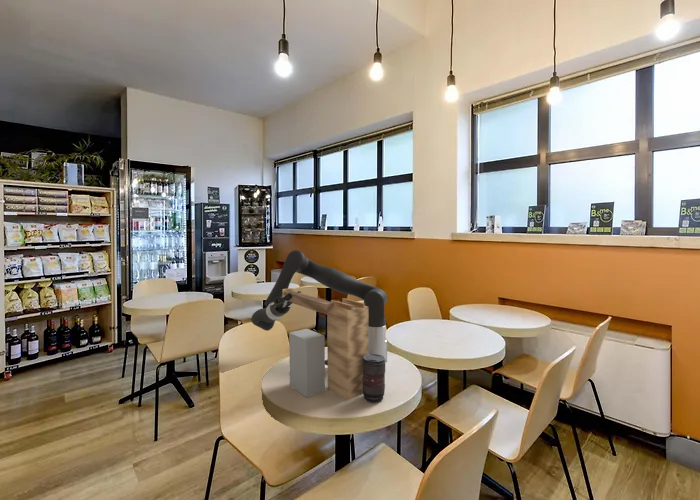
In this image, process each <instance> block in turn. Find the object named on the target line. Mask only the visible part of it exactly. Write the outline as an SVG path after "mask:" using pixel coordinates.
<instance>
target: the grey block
mask: <svg viewBox="0 0 700 500" xmlns="http://www.w3.org/2000/svg"><path fill="white" fill-rule="evenodd" d="M288 336H289V337H288V338H289V339H288V342H289V345H288V346H289V352H288V353H289V387H291V388H292V389H294V390H295V391H296V392H298V393H299V394H301V395H303V397H305V398H309V397H312V396H315V395H317V394H320V393H323V392H325V391H326V368H325V360H326V357H325V354H326V352H325V350H326V347H325V345H326V344H325V343H326V342H325V335H323V334H321V333H318V332H316V331H314V330H312V329H310V328H304V329H300V330H295V331H294V330H293V331H291V332H289V334H288Z"/></svg>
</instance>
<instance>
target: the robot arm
mask: <svg viewBox="0 0 700 500" xmlns="http://www.w3.org/2000/svg"><path fill="white" fill-rule="evenodd" d="M296 273H297V274H300V275H303V276H306V277H308V278H311V279H313V280H315V281H316V282H318V283H320V284H321V285H323V286H325V287H327V288H329V289H331V290H333V291H336V292H337V293H340V294H344V295H349V296H353V297H354V296H355V297H356V298H359V299H360V300H363V303H365V306H368V307H369V354H378V355H382V356H384V357H385V363H386V362H388V340H387V337H386V336H387V335H386V334H387V330H386V329H387V326H386V325H387V324H386V323H387V322H386V321H387V319H386V317H385V305H386V304H387V302H388V295H387V293H386V292H385V290H383V289H381V288H379V287H376V286H373V285H371V284H368V283H365V282H362V281H360V280H359V279H356V278H354V277H352V276H350V275H349V274H347V273H345V272H342V271H340V270H339V269H337V268H334V267H331V266H326V265H321V264H319V263H316V262H314V261H313V260H311V259H309V258H308V257H306V255H305V254H304V252H302V251H301V250H299V249H294V250H291V251H290V252H289V253H288V254H287V256H286V259H285V261H284V263H283V266H282V268H281V271H280V272H279V275H278V278H277V280H276V281H275V284H274V285H273V288H272V289H271V291H270V293H269V294H268V296H267V297H266V299H265V301H264V306H265V307H264V308H260V309H258V310H255V312H253V314H252V316H251V318H250V321H251V323H252V324H253V325H254V326H256V327H258V328H260V329H261V330H263V331H266V332H269V331H270V330H272V329H273V328H274V325H275V322H276V321H277V320H278V319H280V318H282V317H283V316H285V315H286V314H287V313H288V312H289V311H290V309H291V307H292V306H293V305H295V304H294V303H291V302H288V301H289V300H290V299H291V298H292V293H291V292H289V293H288V294H287V295H284V296H283V297H282V289H289V288H290V284H291V281H292V278H293V277H294V276H295V274H296ZM297 292H298V293H302V292H301V290H297Z"/></svg>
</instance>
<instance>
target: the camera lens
mask: <svg viewBox="0 0 700 500" xmlns="http://www.w3.org/2000/svg"><path fill="white" fill-rule="evenodd" d="M385 376H386V362H385V357H384V356H382V355H378V354H367V355H365V356H364V357H363V377H362V381H363V394H362V395H363V396H364V400H365V401H366V402H368V403H372V404H373V403H374V404H376V403H380V402H382V401H383V400H384V395H385V389H386V380H385Z"/></svg>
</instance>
